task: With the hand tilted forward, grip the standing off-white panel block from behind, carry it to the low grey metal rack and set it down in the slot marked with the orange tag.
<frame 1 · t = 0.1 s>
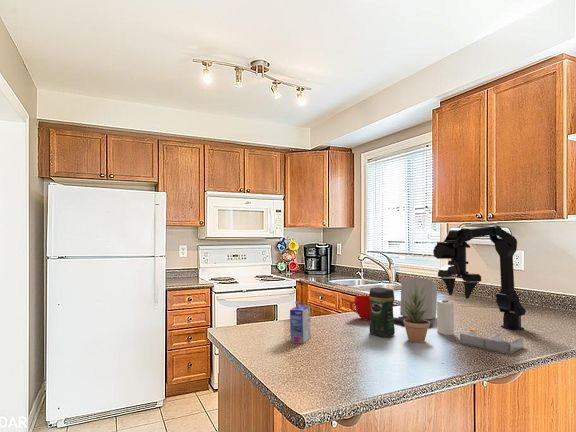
hand: (458, 296, 160), 15 cm above the countertop, tool pointing down, fingers open, 9 cm apart
coffee jar: (381, 335, 156), on the countertop
disk drive: (411, 326, 173), on the countertop
ceramic cup: (365, 320, 183), on the countertop
ink cartridge box: (300, 340, 147), on the countertop
electrical switch box: (419, 317, 190), on the countertop
potted plant: (416, 340, 148), on the countertop
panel: (445, 333, 159), on the countertop
rack: (492, 345, 142), on the countertop
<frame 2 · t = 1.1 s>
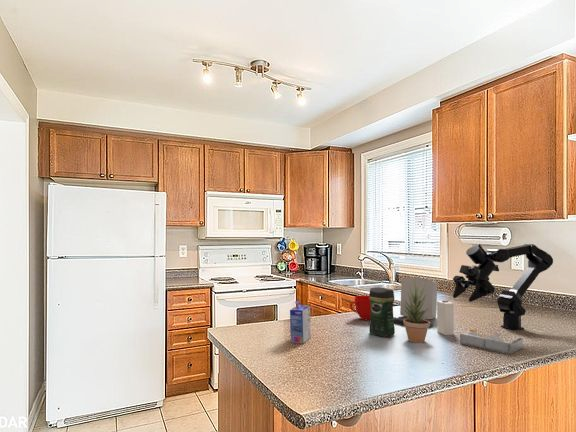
hand: (461, 299, 161), 13 cm above the countertop, tool tilted 45°, fingers open, 9 cm apart
nothing on the countertop moved.
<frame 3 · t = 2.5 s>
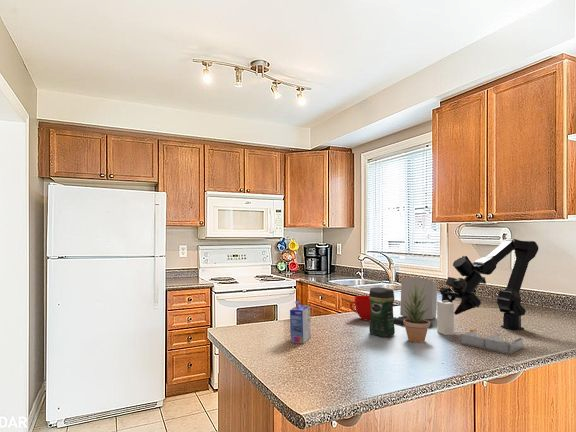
hand: (447, 311, 159), 9 cm above the countertop, tool tilted 45°, fingers open, 9 cm apart
nothing on the countertop moved.
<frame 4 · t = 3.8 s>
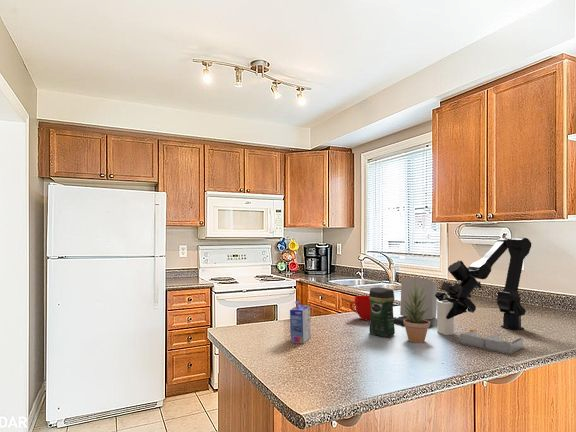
hand: (442, 317, 158), 7 cm above the countertop, tool tilted 45°, fingers closed on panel, 5 cm apart
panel: (445, 333, 159), on the countertop, touching gripper
everything else where it was.
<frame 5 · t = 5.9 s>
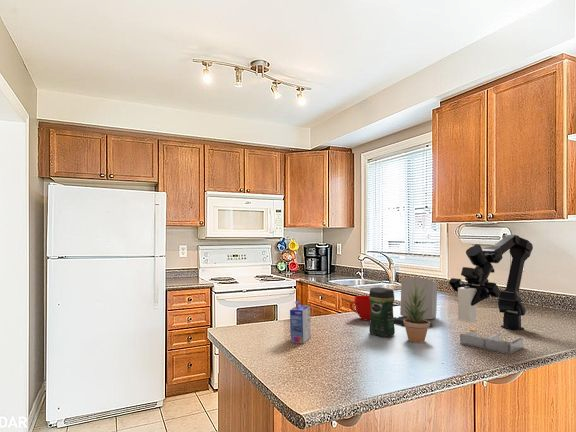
hand: (465, 303, 150), 13 cm above the countertop, tool tilted 45°, fingers closed on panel, 5 cm apart
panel: (467, 320, 150), point 7 cm above the countertop, touching gripper
everything else where it was.
when the fingers open (8 cm above the countertop, at t = 8.0 s): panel stays where it is, resting on rack.
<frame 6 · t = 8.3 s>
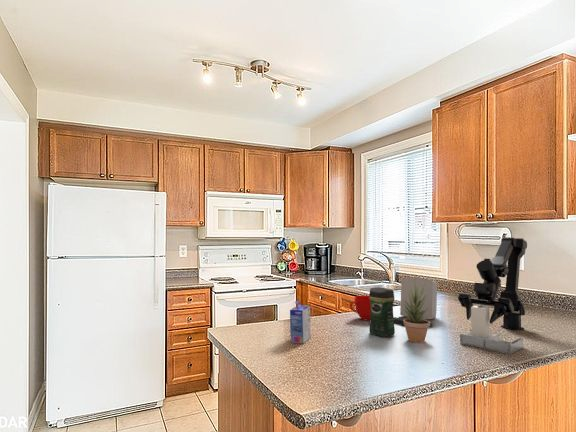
hand: (478, 321, 145), 8 cm above the countertop, tool tilted 45°, fingers open, 8 cm apart
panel: (480, 341, 145), point 1 cm above the countertop, touching rack
everything else where it was.
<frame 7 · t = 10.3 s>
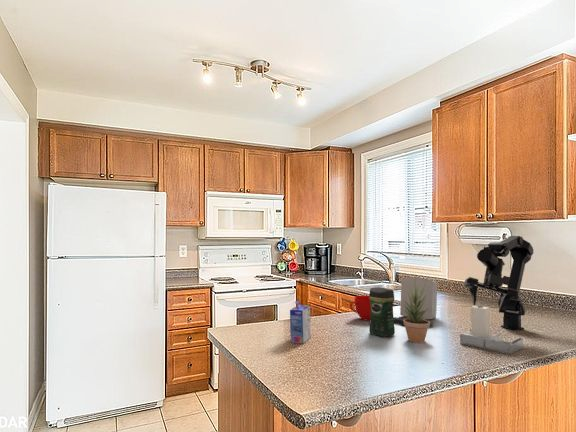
hand: (486, 308, 153), 11 cm above the countertop, tool tilted 25°, fingers open, 9 cm apart
nothing on the countertop moved.
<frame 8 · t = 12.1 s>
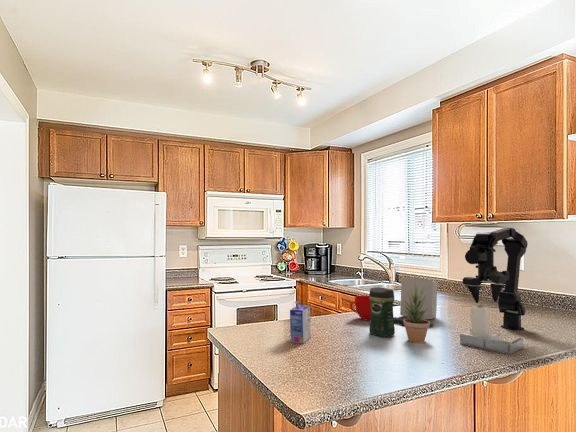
hand: (486, 302, 157), 13 cm above the countertop, tool pointing down, fingers open, 9 cm apart
nothing on the countertop moved.
at the end: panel 0.0 cm from the target spot on the rack, point 0.6 cm above the rack's base; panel tilted 0°; the gripper is holding nothing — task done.
